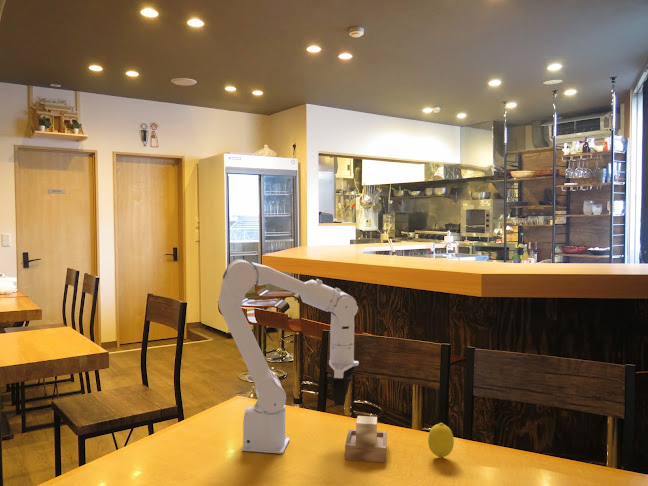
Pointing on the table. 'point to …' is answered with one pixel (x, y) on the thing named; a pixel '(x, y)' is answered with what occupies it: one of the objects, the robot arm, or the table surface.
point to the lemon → (440, 440)
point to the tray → (366, 448)
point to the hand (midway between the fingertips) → (341, 399)
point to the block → (366, 430)
